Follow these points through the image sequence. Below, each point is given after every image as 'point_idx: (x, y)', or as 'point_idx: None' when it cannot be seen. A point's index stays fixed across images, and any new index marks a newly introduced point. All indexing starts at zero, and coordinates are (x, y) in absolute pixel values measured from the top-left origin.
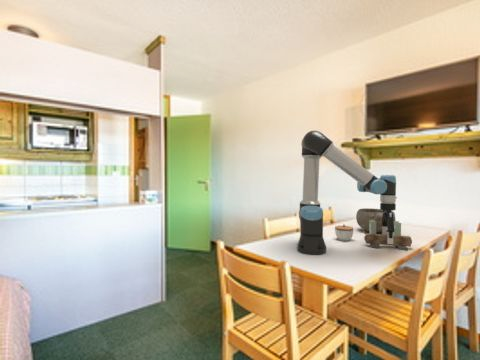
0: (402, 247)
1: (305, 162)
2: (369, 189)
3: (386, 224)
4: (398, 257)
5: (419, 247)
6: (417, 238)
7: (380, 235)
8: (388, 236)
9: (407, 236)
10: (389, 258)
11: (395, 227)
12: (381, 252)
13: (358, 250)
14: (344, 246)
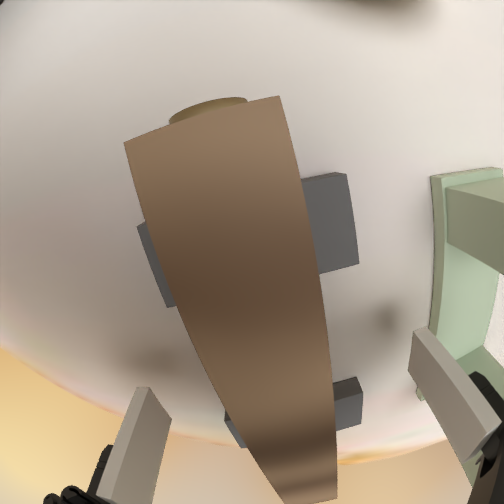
0: (232, 434)
1: None
2: None
3: (478, 484)
4: (60, 379)
5: (349, 452)
6: None
7: (230, 390)
8: (118, 454)
9: (316, 499)
10: (15, 336)
11: (480, 454)
12: (71, 305)
13: (24, 137)
14: (89, 6)
